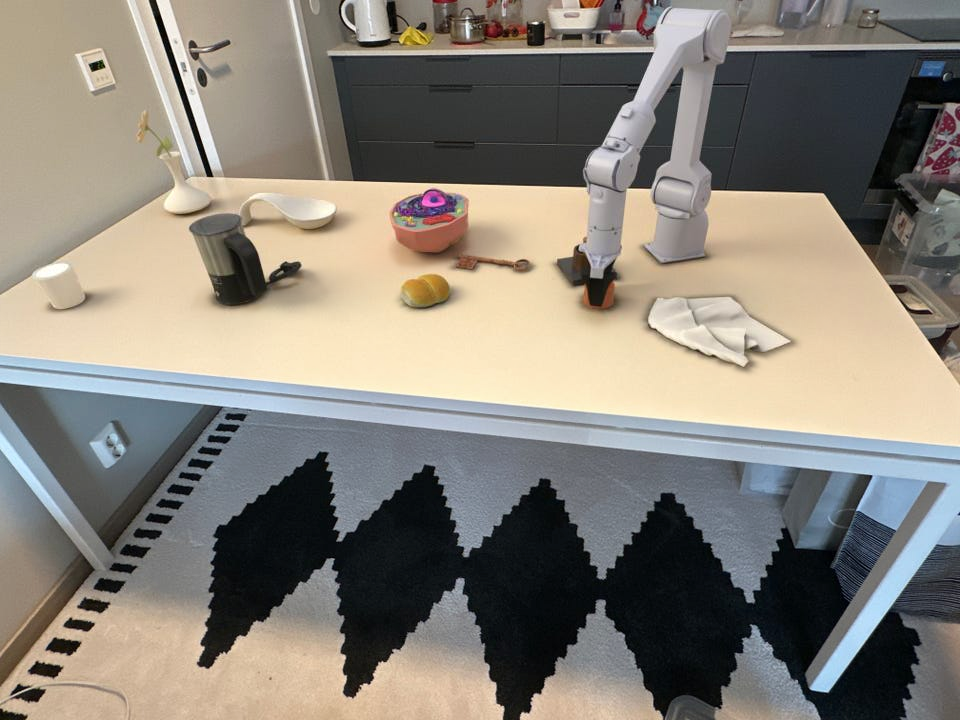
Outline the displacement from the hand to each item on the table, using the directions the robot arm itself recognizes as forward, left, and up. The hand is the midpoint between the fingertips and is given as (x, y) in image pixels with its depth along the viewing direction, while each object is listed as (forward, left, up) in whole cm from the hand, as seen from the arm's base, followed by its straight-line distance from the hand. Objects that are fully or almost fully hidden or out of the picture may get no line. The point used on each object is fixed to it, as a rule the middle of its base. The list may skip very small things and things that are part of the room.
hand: (598, 294), depth 104 cm
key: (+15, -19, -2) cm, 24 cm away
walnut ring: (-2, -11, 0) cm, 11 cm away
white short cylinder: (+98, -31, -2) cm, 103 cm away
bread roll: (+30, -11, -2) cm, 32 cm away
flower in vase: (+82, -72, -2) cm, 109 cm away
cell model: (+25, -32, -2) cm, 41 cm away
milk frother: (+61, -25, -2) cm, 66 cm away
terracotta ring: (0, 0, -2) cm, 2 cm away
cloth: (-15, +14, -2) cm, 21 cm away
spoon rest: (+56, -54, -2) cm, 78 cm away
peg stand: (-2, -11, -2) cm, 11 cm away
